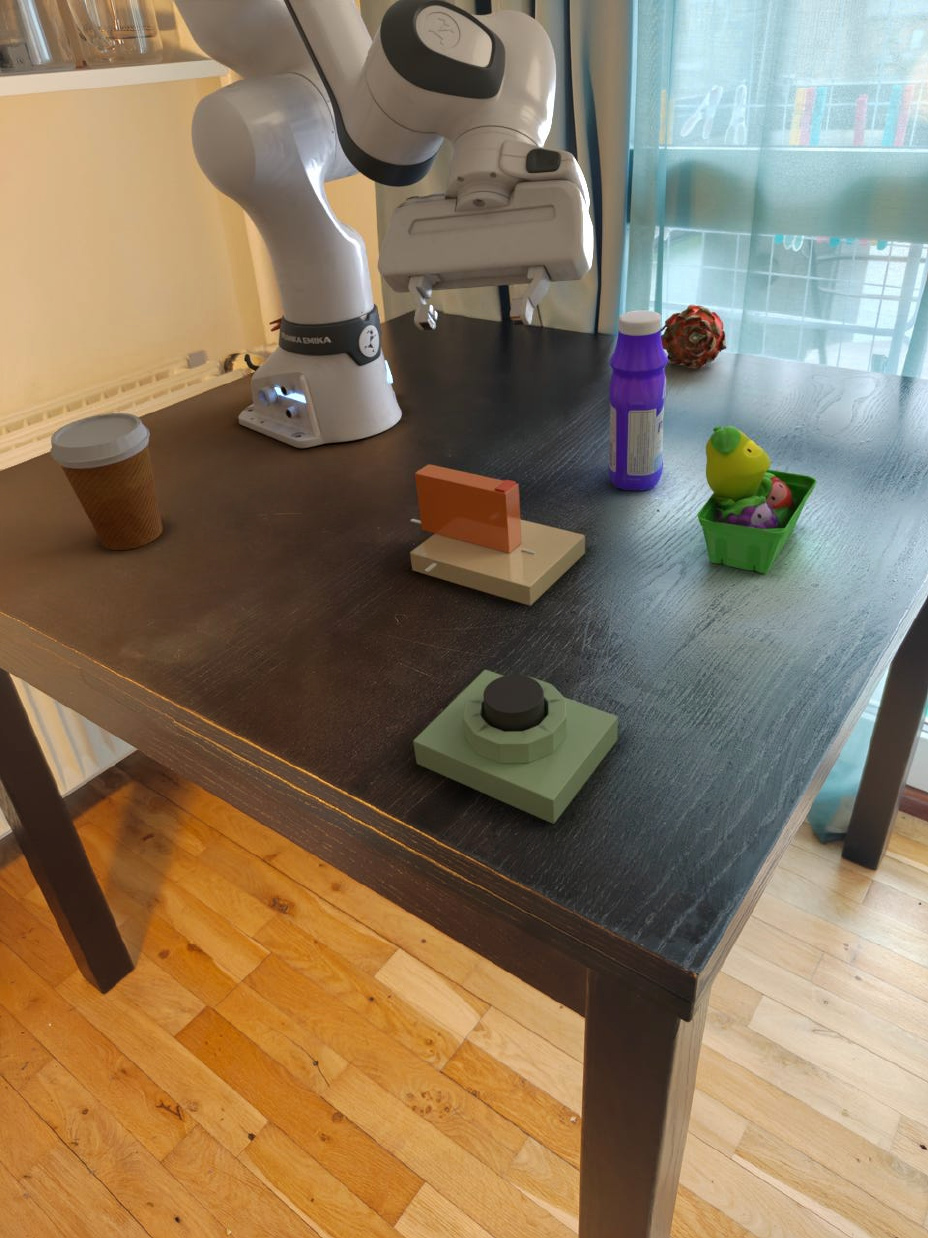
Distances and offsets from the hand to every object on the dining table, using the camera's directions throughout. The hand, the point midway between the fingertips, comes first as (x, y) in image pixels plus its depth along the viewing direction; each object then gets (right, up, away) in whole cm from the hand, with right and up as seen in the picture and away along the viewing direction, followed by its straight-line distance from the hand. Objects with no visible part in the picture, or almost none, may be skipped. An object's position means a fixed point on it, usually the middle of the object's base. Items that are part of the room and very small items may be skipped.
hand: (471, 324), depth 79 cm
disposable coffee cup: (-36, -18, +14) cm, 42 cm away
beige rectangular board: (+1, -21, +4) cm, 21 cm away
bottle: (+18, -12, +15) cm, 26 cm away
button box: (+3, -36, -18) cm, 40 cm away
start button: (+3, -33, -20) cm, 39 cm away
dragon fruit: (+31, +9, +43) cm, 53 cm away
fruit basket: (+26, -20, +2) cm, 32 cm away
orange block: (0, -19, +3) cm, 19 cm away
